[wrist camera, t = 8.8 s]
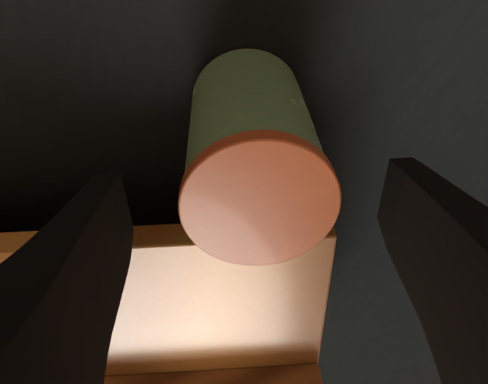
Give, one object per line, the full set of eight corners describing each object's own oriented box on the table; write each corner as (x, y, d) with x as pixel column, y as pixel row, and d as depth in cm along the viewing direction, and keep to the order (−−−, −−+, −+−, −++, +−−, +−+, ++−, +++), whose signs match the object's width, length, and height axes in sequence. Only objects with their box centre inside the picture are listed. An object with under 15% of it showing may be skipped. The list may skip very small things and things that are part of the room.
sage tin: (311, 133, 18) (352, 246, 12) (210, 160, 18) (209, 280, 13) (288, 29, 15) (327, 117, 10) (171, 65, 16) (150, 166, 10)
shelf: (317, 172, 19) (345, 260, 15) (303, 304, 24) (322, 396, 20) (-84, 192, 18) (-172, 288, 14) (-5, 322, 24) (-51, 419, 20)
